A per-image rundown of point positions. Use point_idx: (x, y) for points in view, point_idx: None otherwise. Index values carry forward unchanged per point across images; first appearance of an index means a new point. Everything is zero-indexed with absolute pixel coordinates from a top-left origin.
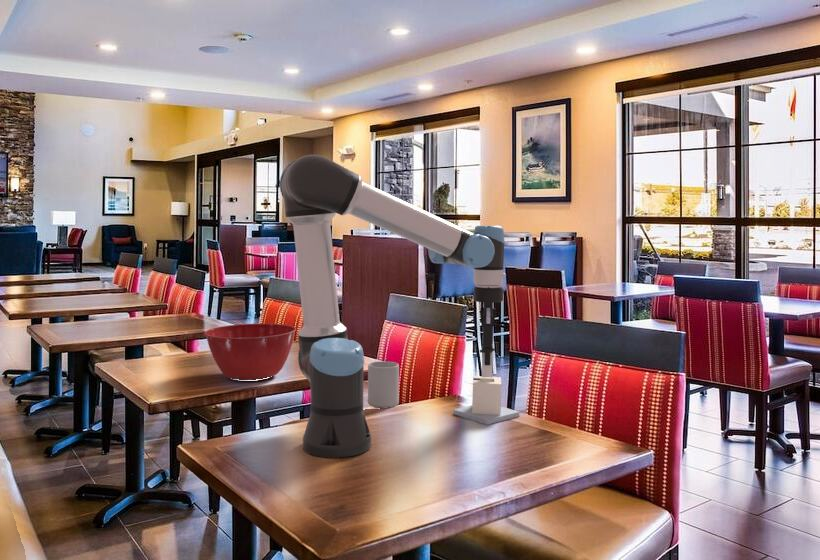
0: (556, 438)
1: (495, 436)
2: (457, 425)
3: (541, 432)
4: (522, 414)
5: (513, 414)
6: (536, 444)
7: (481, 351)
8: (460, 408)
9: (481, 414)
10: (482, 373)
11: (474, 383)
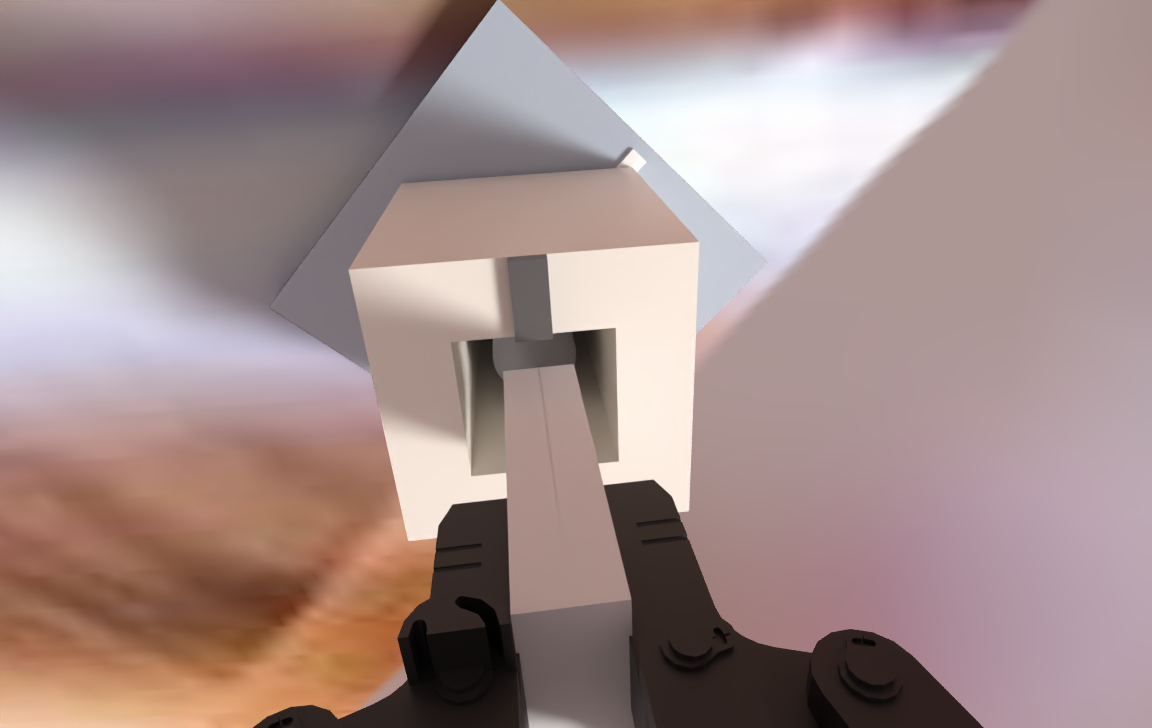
0: (180, 649)
1: (39, 370)
2: (173, 71)
3: (256, 587)
4: None
5: None
6: (15, 580)
7: (411, 646)
8: (543, 64)
9: None
10: (505, 401)
11: (352, 284)
